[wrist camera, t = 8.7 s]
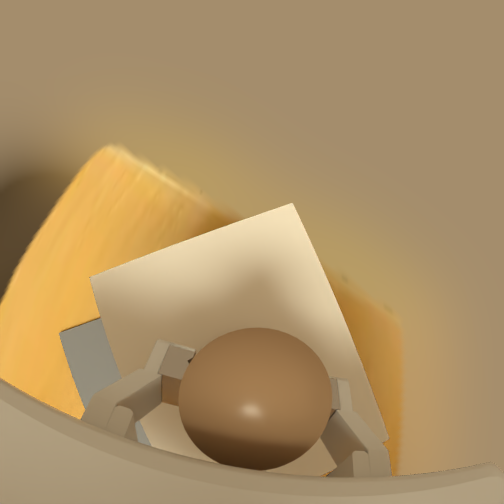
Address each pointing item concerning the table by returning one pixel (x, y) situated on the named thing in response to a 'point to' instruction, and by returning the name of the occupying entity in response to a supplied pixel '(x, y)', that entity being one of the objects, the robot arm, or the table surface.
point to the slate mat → (93, 363)
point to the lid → (240, 344)
